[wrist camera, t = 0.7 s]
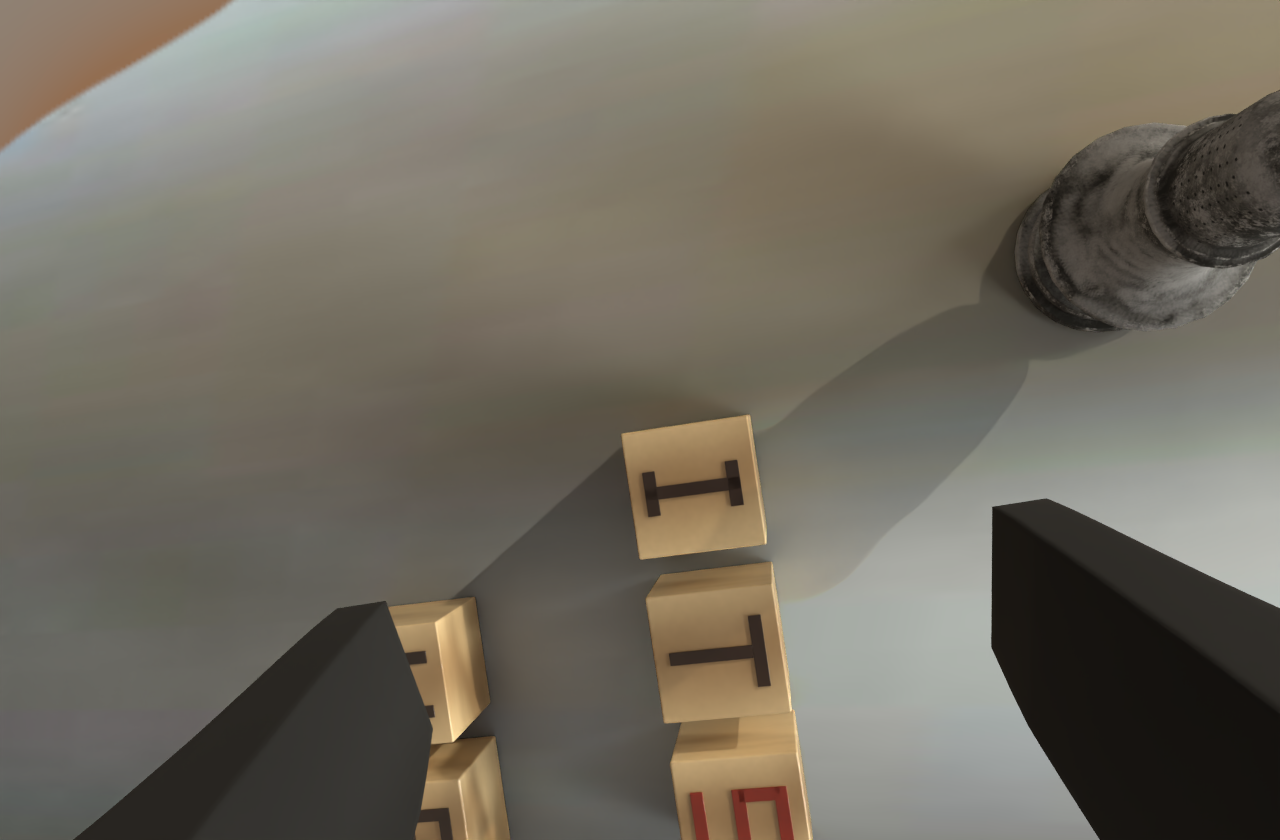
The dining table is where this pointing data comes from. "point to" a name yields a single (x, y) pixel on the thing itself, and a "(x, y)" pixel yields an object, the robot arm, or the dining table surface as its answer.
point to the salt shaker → (1155, 222)
